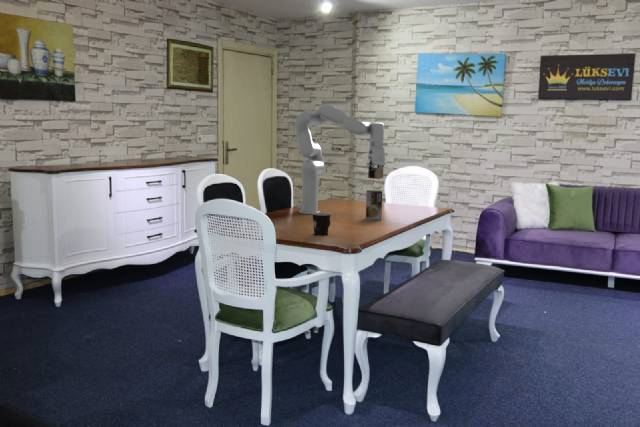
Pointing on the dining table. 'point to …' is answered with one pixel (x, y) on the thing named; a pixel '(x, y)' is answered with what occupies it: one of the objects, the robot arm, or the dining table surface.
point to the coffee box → (374, 204)
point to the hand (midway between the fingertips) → (375, 176)
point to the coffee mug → (321, 223)
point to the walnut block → (377, 173)
